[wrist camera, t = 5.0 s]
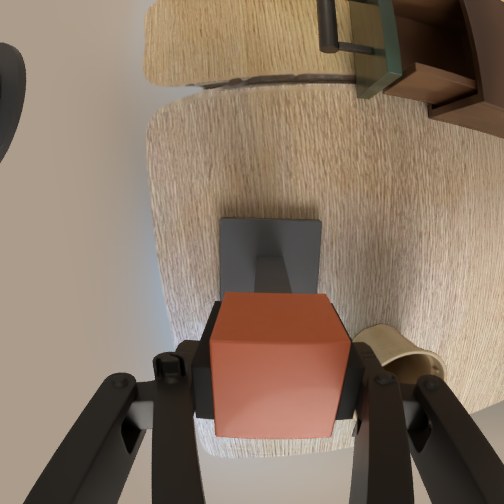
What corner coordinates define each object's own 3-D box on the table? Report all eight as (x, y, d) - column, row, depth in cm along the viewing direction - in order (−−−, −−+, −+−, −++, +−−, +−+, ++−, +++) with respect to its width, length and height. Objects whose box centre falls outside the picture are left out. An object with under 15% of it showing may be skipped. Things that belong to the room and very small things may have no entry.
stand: (222, 308, 31) (194, 398, 17) (221, 217, 29) (184, 250, 15) (313, 310, 30) (344, 400, 17) (319, 219, 28) (368, 254, 15)
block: (226, 374, 16) (215, 437, 12) (225, 291, 15) (208, 339, 10) (316, 375, 16) (331, 437, 11) (326, 293, 15) (351, 341, 10)
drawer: (311, 93, 25) (328, 63, 17) (307, -5, 22) (318, -50, 15) (471, 121, 24) (518, 112, 17) (458, 31, 22) (495, 6, 14)
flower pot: (399, 381, 32) (426, 427, 24) (326, 384, 32) (340, 436, 24) (421, 310, 30) (460, 347, 22) (341, 308, 30) (366, 352, 22)
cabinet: (428, 118, 26) (484, 101, 16) (416, 16, 23) (456, -22, 13) (518, 144, 25) (573, 142, 16) (507, 53, 22) (553, 34, 13)
